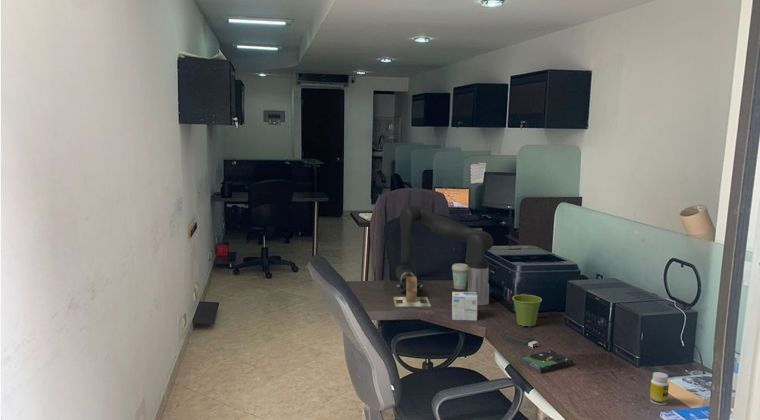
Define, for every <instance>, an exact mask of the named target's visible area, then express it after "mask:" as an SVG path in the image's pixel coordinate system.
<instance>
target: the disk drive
mask: <svg viewBox="0 0 760 420" xmlns="http://www.w3.org/2000/svg"><path fill="white" fill-rule="evenodd" d="M519 364H520V365H523V366H524V367H526V368H528V369H530V370H532V371H534V372H536V373H538V374H540V375H541V374H545V373H548V372H552V371H556V370H561V369H564V368H565V369H566V368H569V367H571V366H573V359H572V358H570V357H567V356H565V355H563V354H561V353H560V354H558V353H557V352H556V351H554V350H551V349H549V350H545V351H541V352H537V353H532V354H528V355H523V356H520V357H519Z"/></svg>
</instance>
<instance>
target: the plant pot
mask: <svg viewBox="0 0 760 420" xmlns="http://www.w3.org/2000/svg"><path fill="white" fill-rule="evenodd" d="M511 299H512V300H513V304H514V309H515V317H516V323H518V324H519V325H522V326H534V325H535V326H536V323H537V318H538V314H539V310H540V309H539V308H540V305H541V302H542V300H543V299H542V298H541V297H540V296H536V295H533V294H516V295H513V296H512V297H511ZM518 324H517V325H518ZM519 325H518V326H519ZM522 326H521V327H522ZM535 326H534V327H535Z"/></svg>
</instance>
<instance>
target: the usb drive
mask: <svg viewBox="0 0 760 420" xmlns="http://www.w3.org/2000/svg"><path fill="white" fill-rule="evenodd" d="M504 340H505V341H507V340H508V341H507V342H510V341H512V342H511V343H513V342H515V343H514V344H516V343H518V344H521V345H524V346H530V347H532V348H531V349H534V348H533V347H535V346H533V344H534V345H537V346H538V347H539V342H538V341H536V340H535V339H534V338H531V337H529V336H526V335H523V334H520V333H517V332H512V333H508V334H507V335H505V338H504ZM518 344H517V345H518ZM521 345H520V346H521ZM524 346H523V347H524ZM530 347H529V348H530ZM535 348H536V347H535Z"/></svg>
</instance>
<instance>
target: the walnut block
mask: <svg viewBox="0 0 760 420" xmlns="http://www.w3.org/2000/svg"><path fill="white" fill-rule="evenodd" d="M417 282H418V279H417V276H416V277H406V290H405V294H406V295H405V297H406V301H407V303H417V297H418V295H417V294H418V290H417Z"/></svg>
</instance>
